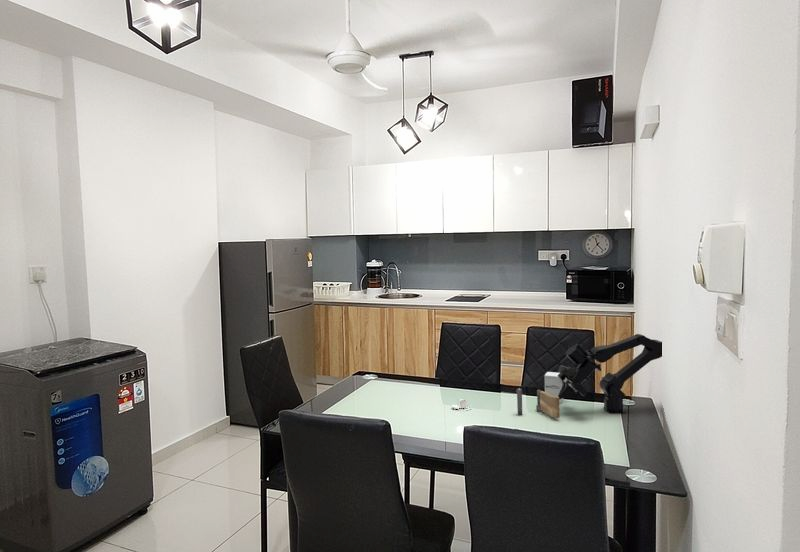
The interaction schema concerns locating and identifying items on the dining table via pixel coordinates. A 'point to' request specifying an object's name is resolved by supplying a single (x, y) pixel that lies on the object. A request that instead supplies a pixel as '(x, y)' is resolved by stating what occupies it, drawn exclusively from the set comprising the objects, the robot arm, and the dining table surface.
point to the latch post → (519, 401)
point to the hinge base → (538, 408)
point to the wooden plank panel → (548, 403)
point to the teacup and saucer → (461, 404)
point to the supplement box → (553, 384)
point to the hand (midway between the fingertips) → (558, 398)
